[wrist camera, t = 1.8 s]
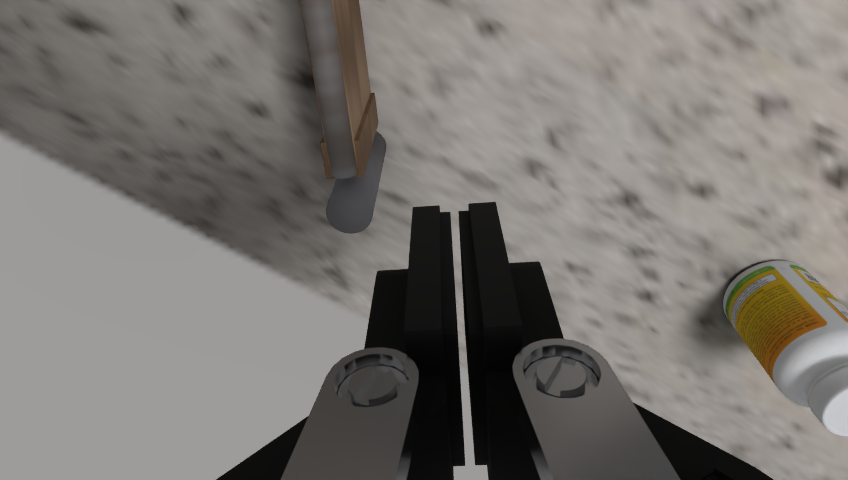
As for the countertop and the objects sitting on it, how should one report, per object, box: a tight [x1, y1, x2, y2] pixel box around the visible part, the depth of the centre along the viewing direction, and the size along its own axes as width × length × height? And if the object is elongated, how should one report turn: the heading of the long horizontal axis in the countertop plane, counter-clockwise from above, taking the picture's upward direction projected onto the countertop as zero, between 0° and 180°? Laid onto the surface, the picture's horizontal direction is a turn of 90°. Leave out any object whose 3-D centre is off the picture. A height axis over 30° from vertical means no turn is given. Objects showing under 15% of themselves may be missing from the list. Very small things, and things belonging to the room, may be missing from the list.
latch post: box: [326, 131, 386, 233], centre depth 28 cm, size 2×2×8 cm
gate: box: [300, 0, 378, 179], centre depth 24 cm, size 10×2×8 cm, turn 4°
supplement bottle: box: [723, 260, 848, 436], centre depth 31 cm, size 5×5×10 cm
